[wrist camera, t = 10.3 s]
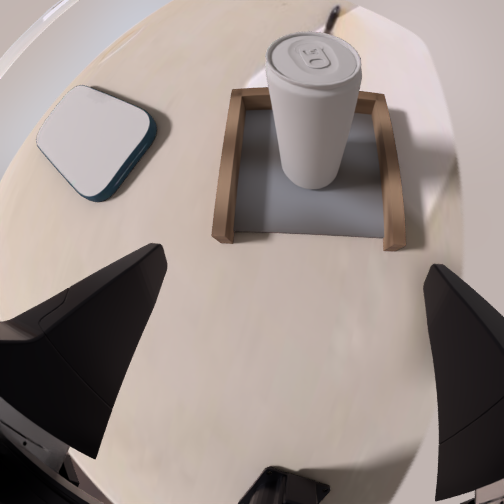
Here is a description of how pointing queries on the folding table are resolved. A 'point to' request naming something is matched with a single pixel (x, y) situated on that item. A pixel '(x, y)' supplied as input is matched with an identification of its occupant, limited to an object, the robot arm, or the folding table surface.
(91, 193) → the external hard drive
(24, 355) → the robot arm
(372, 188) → the bay
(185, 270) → the folding table surface
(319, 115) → the beverage can
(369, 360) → the folding table surface
